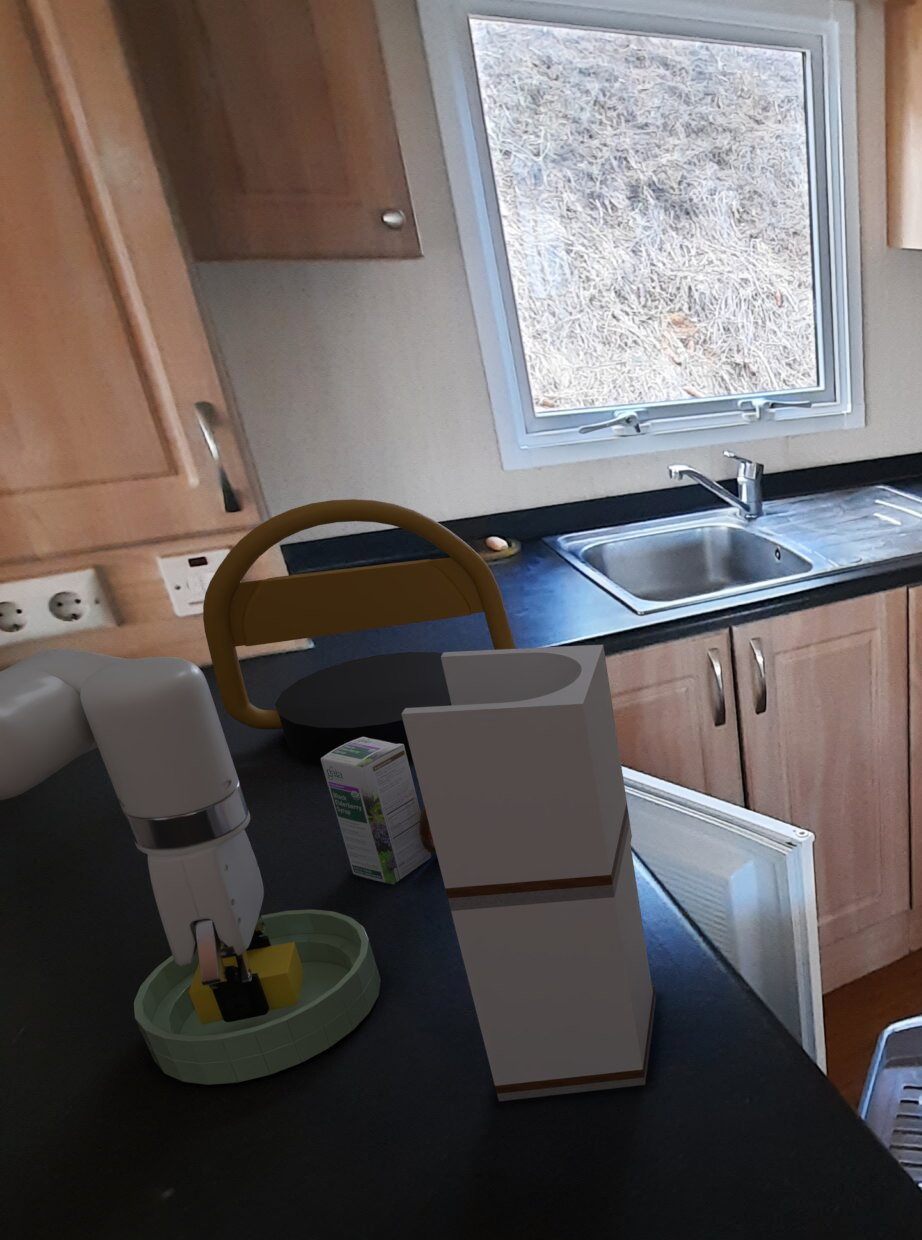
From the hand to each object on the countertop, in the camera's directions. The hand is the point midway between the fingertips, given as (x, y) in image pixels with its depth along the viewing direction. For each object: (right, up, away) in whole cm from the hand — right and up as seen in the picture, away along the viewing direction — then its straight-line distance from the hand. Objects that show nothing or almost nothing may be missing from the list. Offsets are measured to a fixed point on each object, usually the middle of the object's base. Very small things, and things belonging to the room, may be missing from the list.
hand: (252, 994), depth 90 cm
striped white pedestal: (+28, -5, 0) cm, 29 cm away
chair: (-17, +23, +54) cm, 61 cm away
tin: (+5, +11, +30) cm, 33 cm away
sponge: (0, 0, 0) cm, 0 cm away
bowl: (0, -3, +3) cm, 4 cm away
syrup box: (-1, +8, +24) cm, 25 cm away
